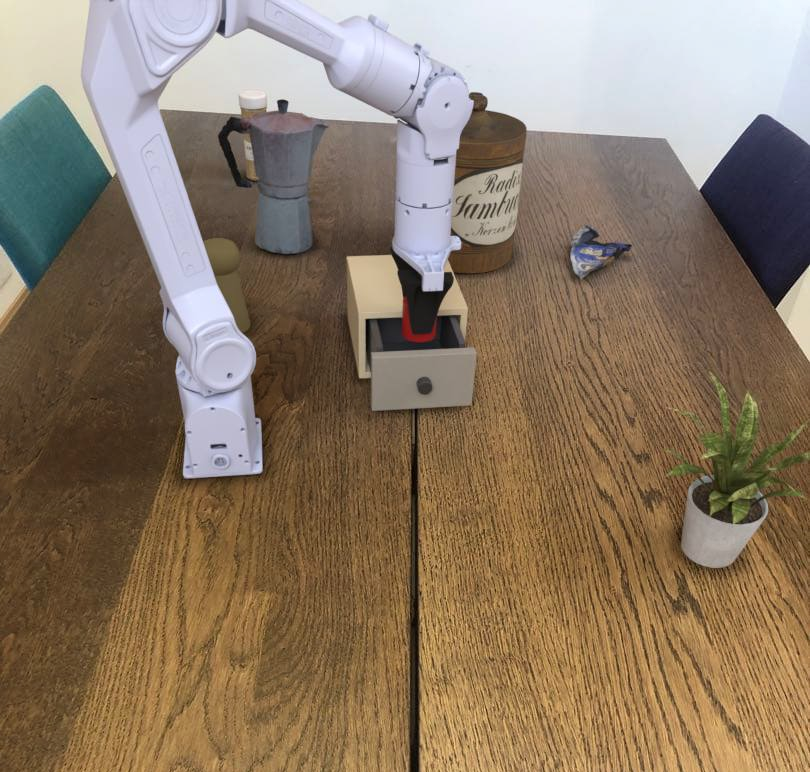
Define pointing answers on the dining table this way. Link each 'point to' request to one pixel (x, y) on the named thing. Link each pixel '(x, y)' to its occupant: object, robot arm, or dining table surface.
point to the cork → (228, 277)
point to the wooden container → (486, 189)
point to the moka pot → (279, 174)
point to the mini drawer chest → (385, 300)
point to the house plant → (730, 486)
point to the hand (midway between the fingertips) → (418, 322)
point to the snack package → (593, 251)
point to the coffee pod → (407, 328)
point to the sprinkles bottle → (249, 106)
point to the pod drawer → (419, 366)
